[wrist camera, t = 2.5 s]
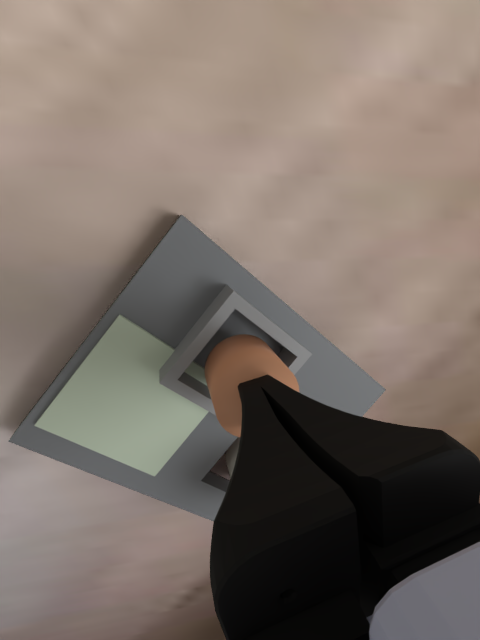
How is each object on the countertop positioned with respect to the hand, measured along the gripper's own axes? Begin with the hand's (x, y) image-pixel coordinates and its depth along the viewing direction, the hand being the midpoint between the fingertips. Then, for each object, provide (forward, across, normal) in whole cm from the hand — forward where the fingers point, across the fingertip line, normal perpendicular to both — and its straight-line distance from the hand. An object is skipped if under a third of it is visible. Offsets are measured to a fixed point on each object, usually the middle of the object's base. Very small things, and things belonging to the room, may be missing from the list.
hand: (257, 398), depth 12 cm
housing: (+6, +1, +4) cm, 7 cm away
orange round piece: (+3, 0, 0) cm, 3 cm away
